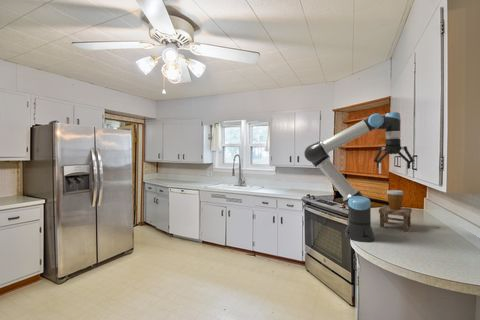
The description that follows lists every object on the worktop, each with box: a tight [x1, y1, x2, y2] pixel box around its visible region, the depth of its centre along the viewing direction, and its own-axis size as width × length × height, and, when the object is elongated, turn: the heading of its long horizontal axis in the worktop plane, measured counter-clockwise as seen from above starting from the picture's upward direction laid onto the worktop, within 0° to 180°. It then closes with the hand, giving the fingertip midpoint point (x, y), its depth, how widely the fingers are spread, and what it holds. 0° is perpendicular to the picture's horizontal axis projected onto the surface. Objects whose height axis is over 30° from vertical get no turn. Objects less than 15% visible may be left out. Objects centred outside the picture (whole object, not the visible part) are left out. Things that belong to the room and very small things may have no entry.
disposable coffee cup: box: [386, 189, 404, 210], centre depth 158 cm, size 10×10×12 cm
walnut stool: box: [378, 205, 413, 233], centre depth 158 cm, size 16×16×12 cm
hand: (393, 174), depth 142 cm, fingers open, 13 cm apart
